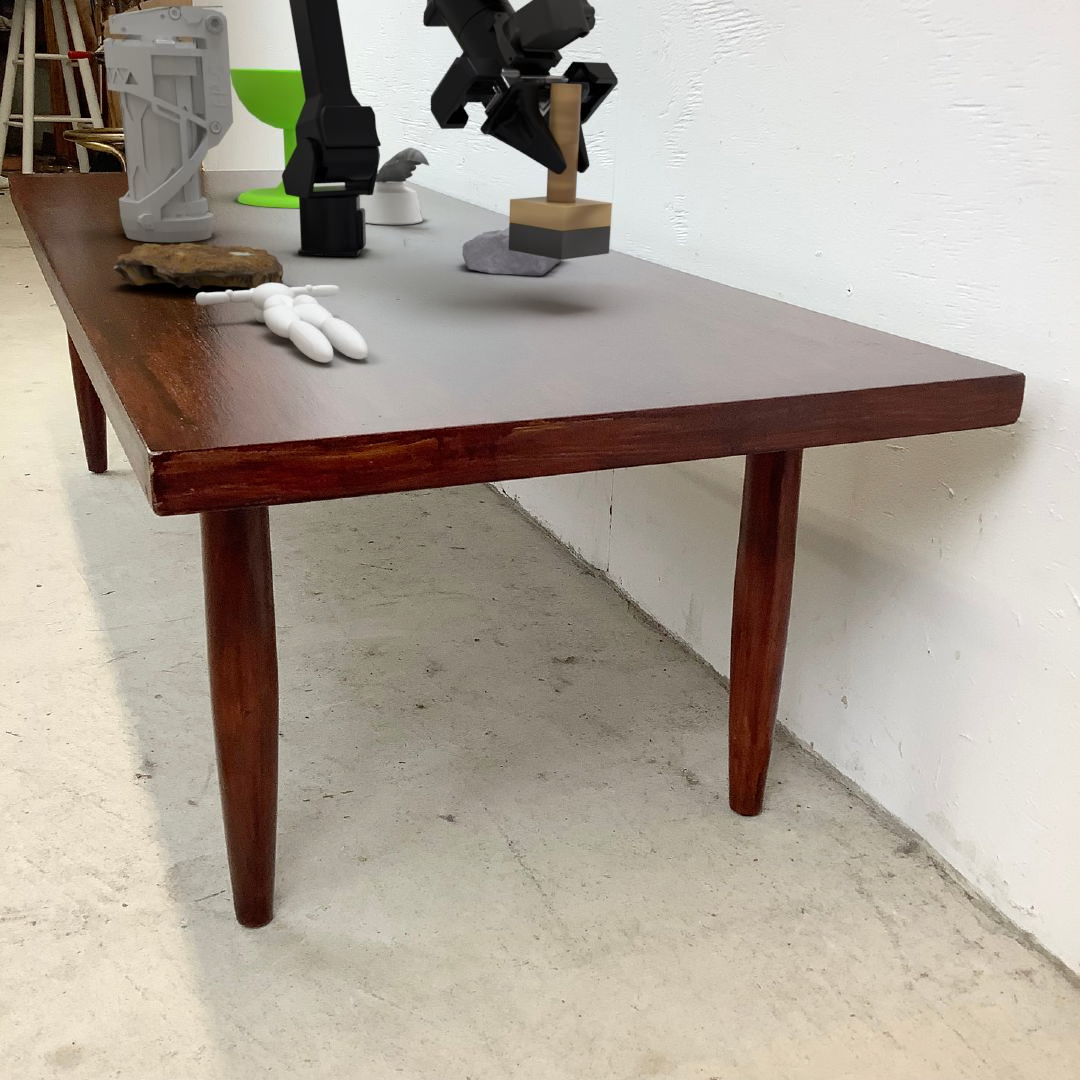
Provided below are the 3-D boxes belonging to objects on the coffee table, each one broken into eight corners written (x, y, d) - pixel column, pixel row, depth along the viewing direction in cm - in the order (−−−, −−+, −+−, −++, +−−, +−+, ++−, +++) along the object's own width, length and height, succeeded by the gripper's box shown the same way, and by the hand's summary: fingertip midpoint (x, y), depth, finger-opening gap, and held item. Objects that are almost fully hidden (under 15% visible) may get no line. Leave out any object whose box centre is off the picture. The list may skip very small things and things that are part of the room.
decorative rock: (124, 306, 100) (294, 303, 107) (121, 259, 99) (294, 259, 105) (106, 276, 110) (264, 275, 116) (103, 232, 108) (264, 234, 114)
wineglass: (337, 209, 165) (333, 73, 158) (225, 205, 165) (216, 69, 158) (355, 197, 180) (352, 72, 173) (252, 193, 180) (245, 68, 173)
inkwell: (405, 215, 162) (404, 139, 158) (466, 232, 148) (467, 150, 144) (343, 217, 157) (341, 139, 154) (400, 235, 143) (399, 151, 140)
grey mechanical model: (135, 244, 130) (112, -2, 120) (113, 231, 138) (89, 0, 128) (248, 239, 136) (234, 5, 126) (220, 227, 144) (205, 7, 135)
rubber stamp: (561, 260, 99) (569, 85, 94) (508, 250, 103) (512, 81, 98) (609, 253, 104) (619, 86, 98) (556, 244, 108) (563, 82, 102)
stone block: (458, 287, 122) (551, 275, 119) (450, 241, 120) (544, 227, 118) (486, 273, 132) (571, 262, 130) (479, 231, 131) (565, 218, 129)
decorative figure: (422, 336, 85) (332, 268, 98) (262, 350, 79) (189, 276, 93) (420, 380, 87) (332, 307, 100) (263, 398, 81) (191, 318, 94)
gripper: (454, -55, 90) (552, 103, 88) (608, -36, 103) (697, 103, 101) (390, 51, 98) (478, 200, 96) (540, 57, 111) (621, 188, 109)
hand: (574, 170), depth 100 cm, fingers closed on rubber stamp, 2 cm apart
